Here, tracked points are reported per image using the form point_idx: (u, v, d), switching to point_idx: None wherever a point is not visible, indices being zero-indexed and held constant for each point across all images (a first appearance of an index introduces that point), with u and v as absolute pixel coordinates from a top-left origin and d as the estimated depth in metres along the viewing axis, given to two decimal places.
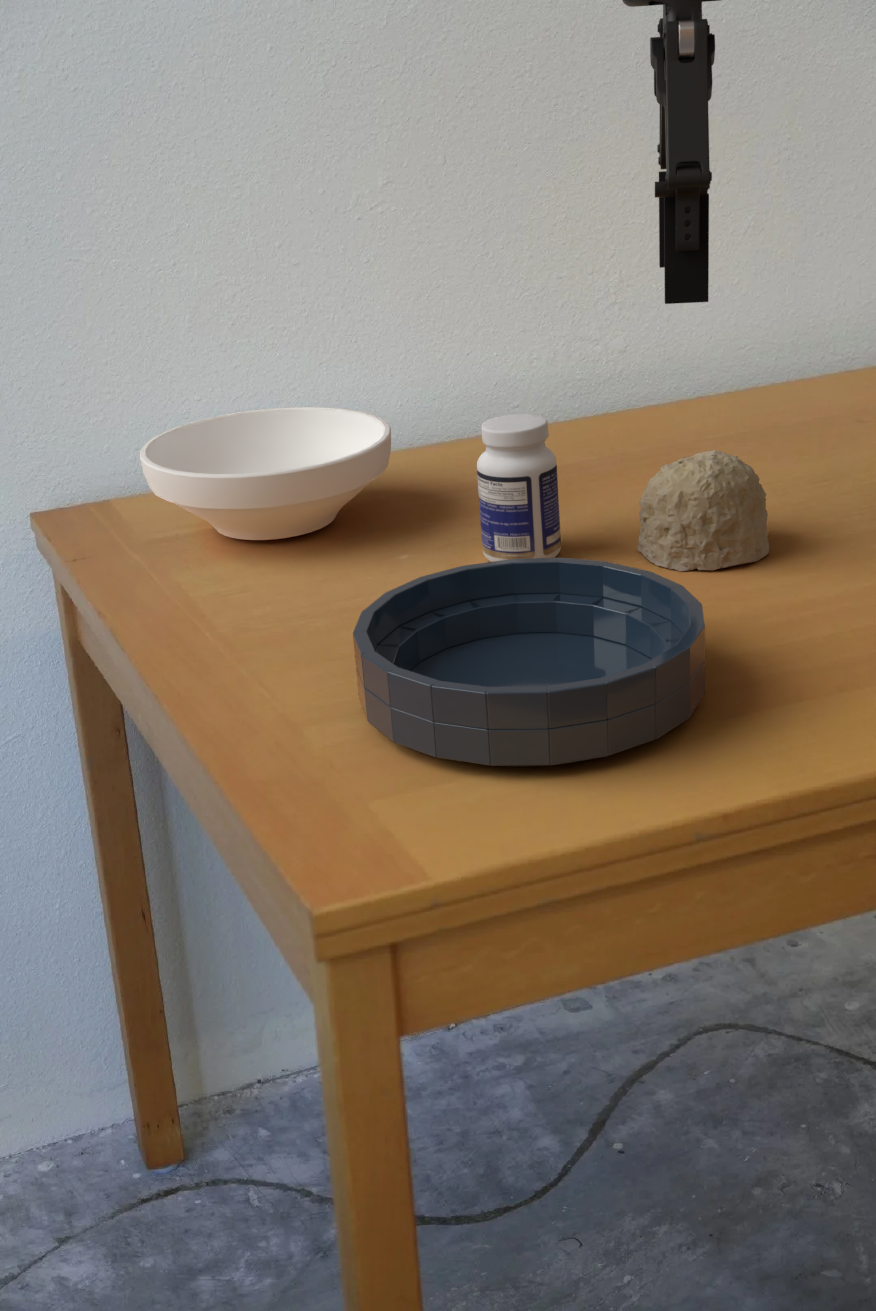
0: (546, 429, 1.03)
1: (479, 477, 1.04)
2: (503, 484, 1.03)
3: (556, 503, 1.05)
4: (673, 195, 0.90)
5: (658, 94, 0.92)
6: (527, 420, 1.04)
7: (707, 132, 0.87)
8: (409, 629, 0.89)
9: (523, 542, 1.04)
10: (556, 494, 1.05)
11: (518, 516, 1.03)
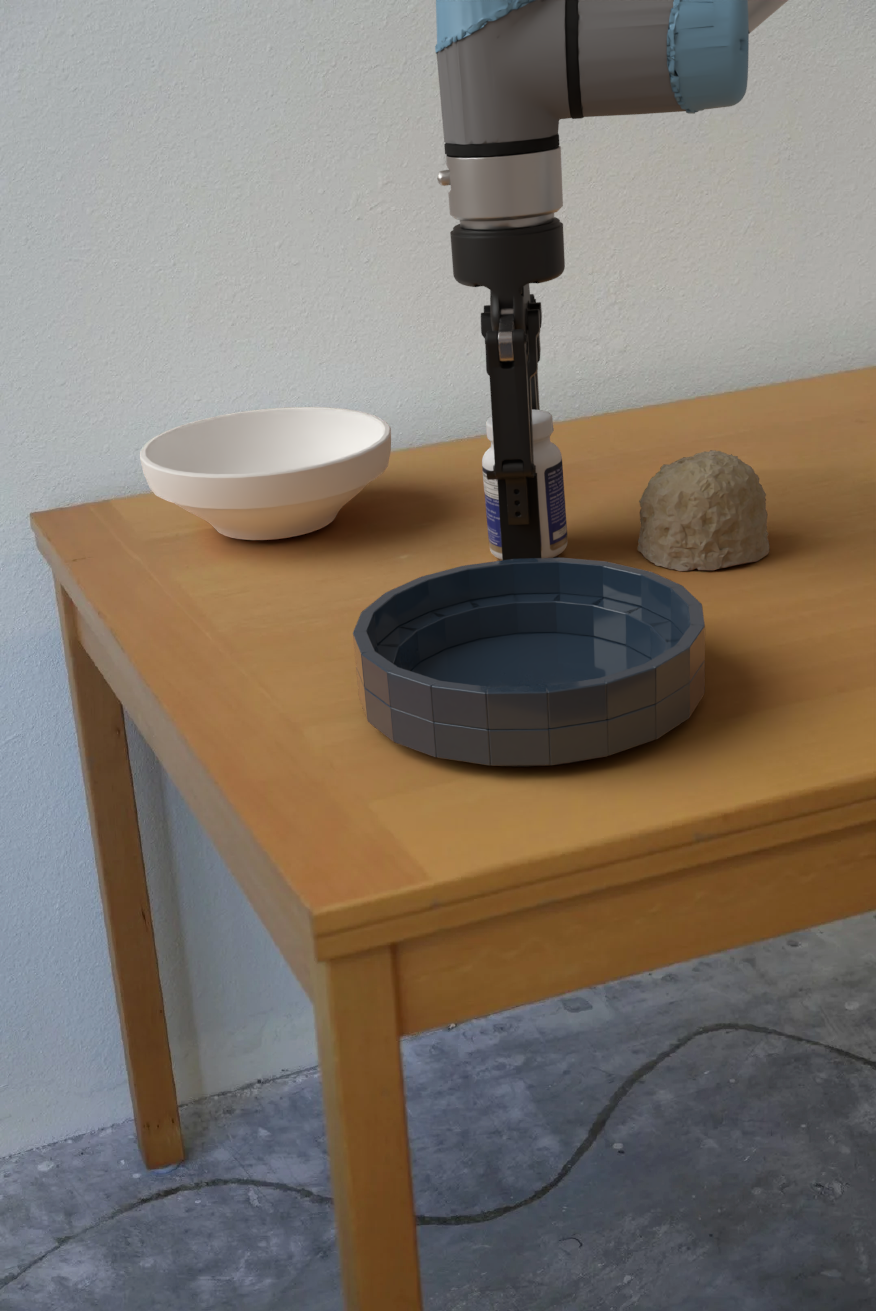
0: (551, 424, 1.03)
1: (484, 473, 1.04)
2: None
3: (562, 498, 1.05)
4: (504, 478, 1.01)
5: (488, 374, 1.00)
6: (532, 415, 1.03)
7: (528, 433, 0.97)
8: (409, 629, 0.89)
9: None
10: (562, 489, 1.04)
11: None
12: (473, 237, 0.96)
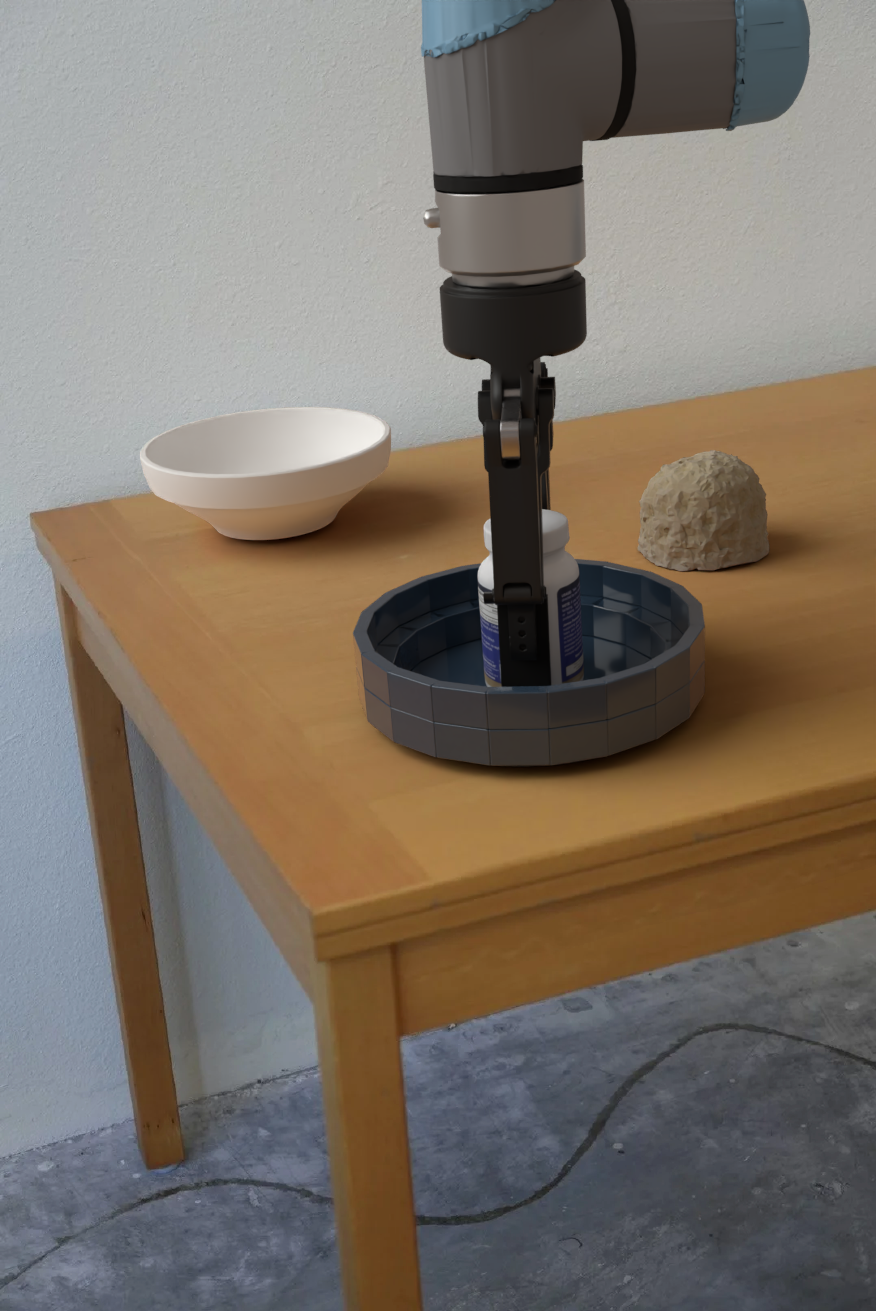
0: (566, 531, 0.80)
1: (481, 591, 0.82)
2: None
3: (578, 623, 0.82)
4: None
5: (487, 470, 0.78)
6: (542, 519, 0.81)
7: (537, 550, 0.75)
8: (409, 629, 0.89)
9: None
10: (579, 612, 0.82)
11: None
12: (469, 297, 0.73)
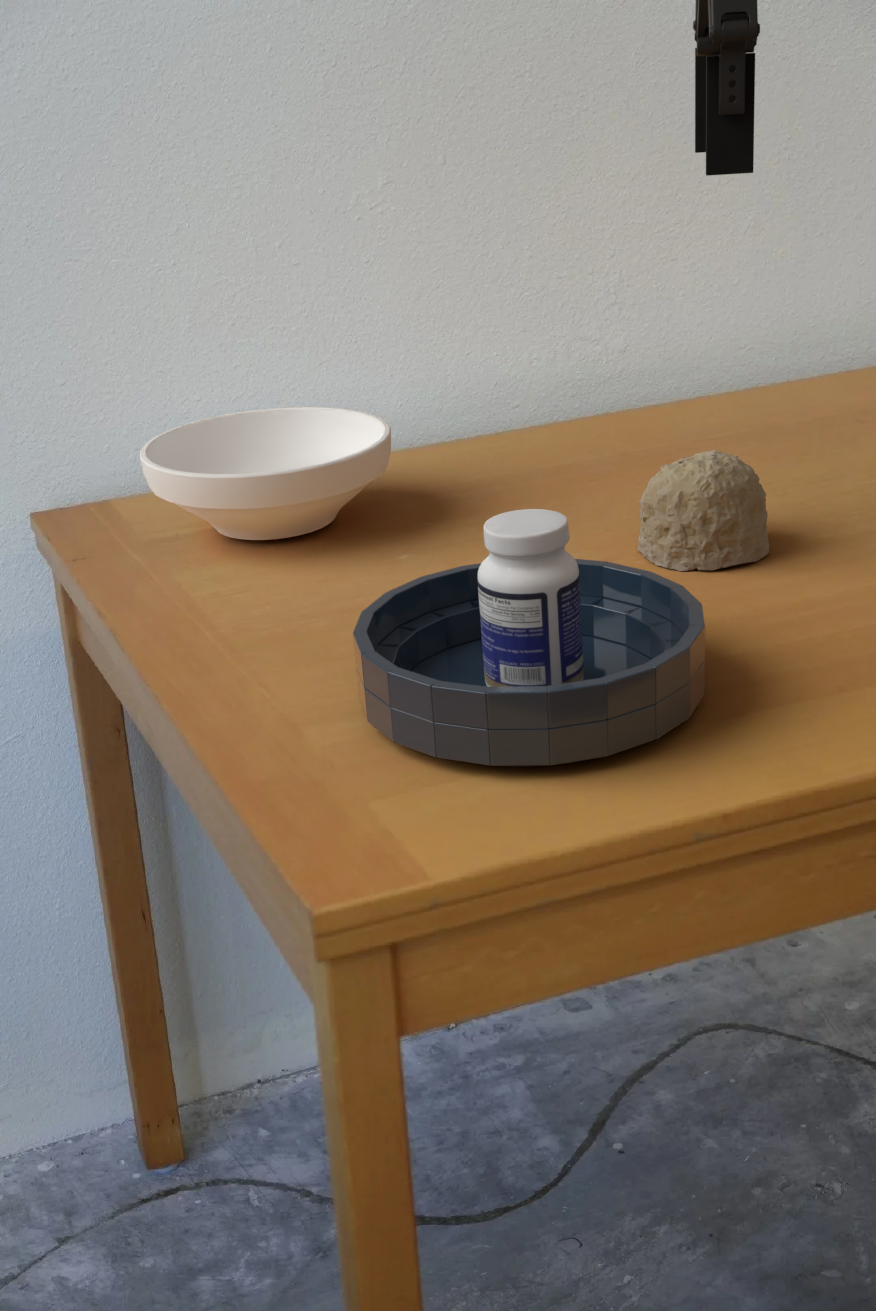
0: (566, 531, 0.81)
1: (481, 591, 0.82)
2: (512, 602, 0.80)
3: (578, 623, 0.82)
4: (717, 53, 0.83)
5: None
6: (542, 519, 0.81)
7: None
8: (409, 629, 0.89)
9: (537, 675, 0.82)
10: (578, 612, 0.82)
11: (530, 642, 0.81)
12: None
